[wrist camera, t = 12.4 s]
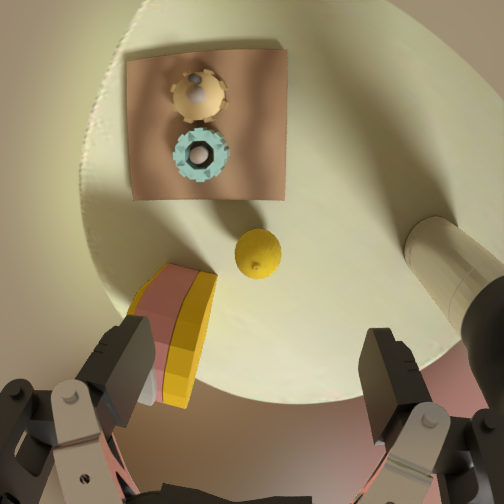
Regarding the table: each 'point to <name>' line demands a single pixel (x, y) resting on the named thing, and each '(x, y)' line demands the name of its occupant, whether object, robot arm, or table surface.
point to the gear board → (209, 123)
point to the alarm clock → (174, 330)
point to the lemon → (257, 253)
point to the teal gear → (184, 151)
